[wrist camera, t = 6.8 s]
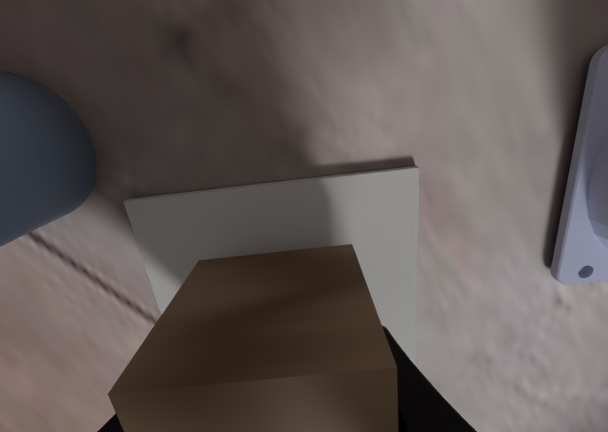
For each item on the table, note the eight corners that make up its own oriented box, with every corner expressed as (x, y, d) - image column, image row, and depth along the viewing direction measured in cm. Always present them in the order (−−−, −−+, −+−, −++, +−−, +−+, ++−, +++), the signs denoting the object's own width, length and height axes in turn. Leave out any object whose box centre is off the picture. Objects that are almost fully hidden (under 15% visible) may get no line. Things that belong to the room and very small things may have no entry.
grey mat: (416, 165, 11) (419, 167, 10) (413, 384, 14) (415, 390, 14) (128, 198, 11) (122, 201, 11) (195, 404, 14) (193, 410, 14)
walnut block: (352, 243, 10) (396, 367, 5) (360, 365, 12) (400, 543, 7) (198, 260, 10) (108, 393, 5) (228, 378, 12) (179, 559, 7)
